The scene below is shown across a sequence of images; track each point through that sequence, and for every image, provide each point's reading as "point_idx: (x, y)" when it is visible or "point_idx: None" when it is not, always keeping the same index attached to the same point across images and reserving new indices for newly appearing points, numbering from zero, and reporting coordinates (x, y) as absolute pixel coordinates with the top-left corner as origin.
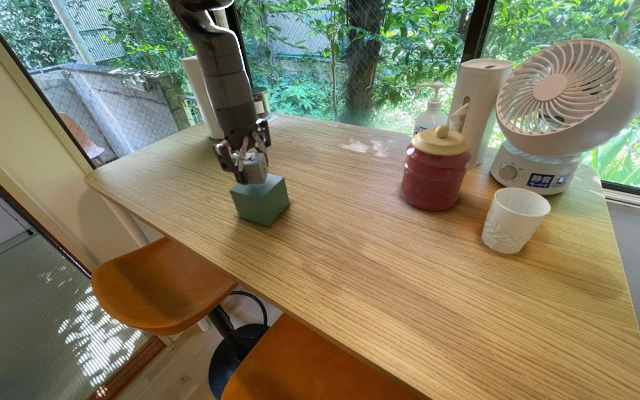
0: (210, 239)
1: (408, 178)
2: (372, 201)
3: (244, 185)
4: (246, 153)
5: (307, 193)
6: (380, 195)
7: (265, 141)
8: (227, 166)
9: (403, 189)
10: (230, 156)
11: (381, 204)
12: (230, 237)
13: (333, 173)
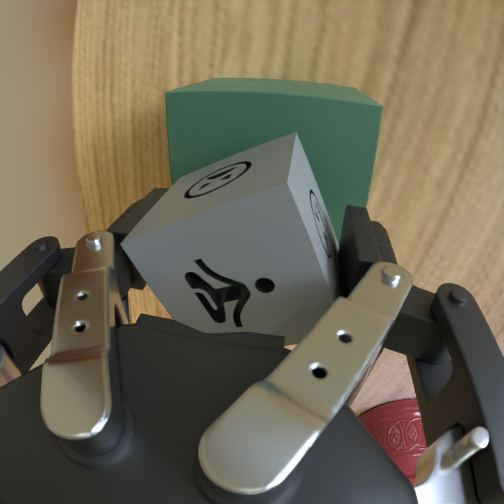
0: (106, 75)
1: (382, 447)
2: (377, 372)
3: (227, 141)
4: (301, 225)
5: (400, 245)
6: (397, 378)
7: (433, 354)
8: (40, 286)
9: (390, 417)
10: (29, 367)
11: (368, 383)
12: (135, 121)
13: (495, 280)
